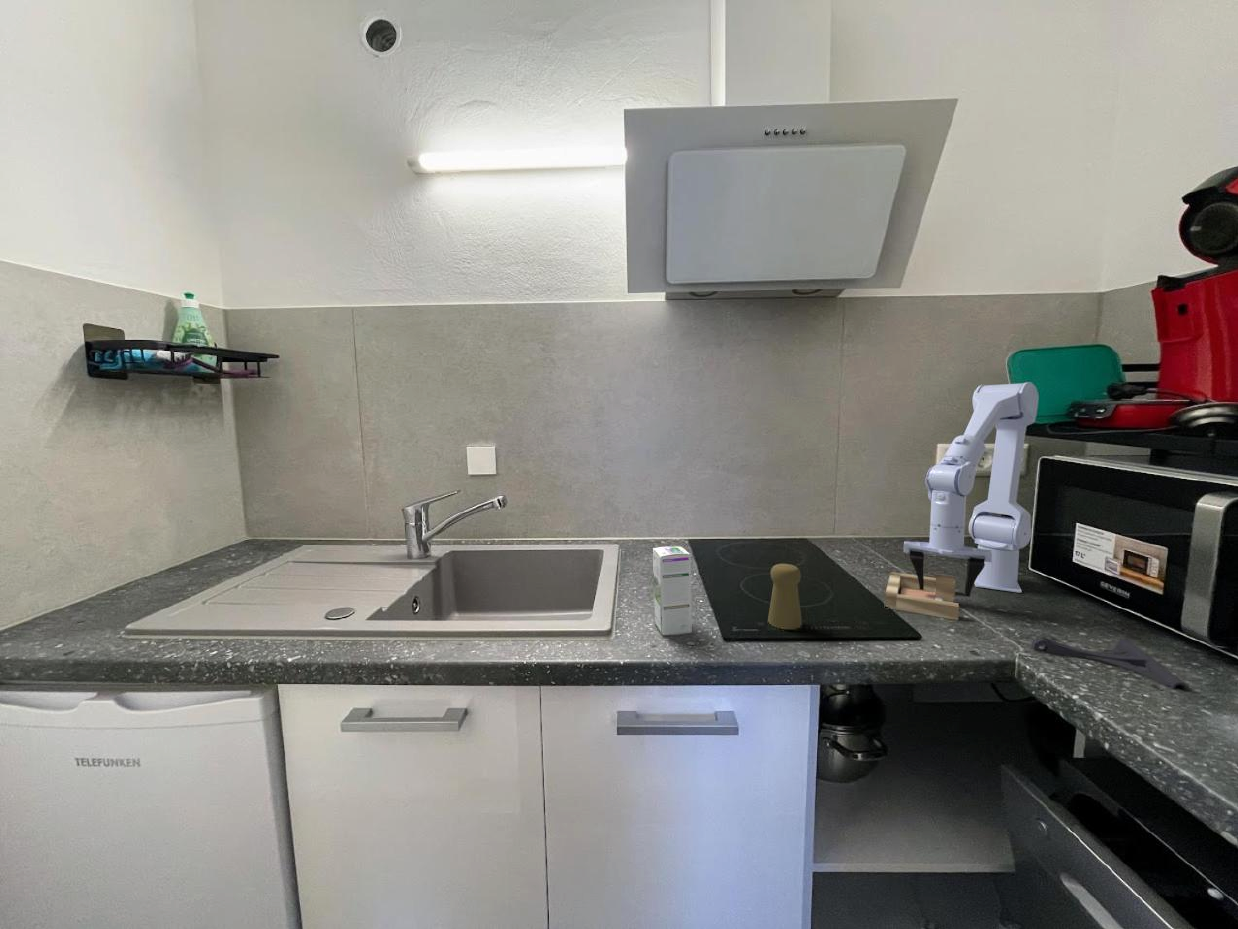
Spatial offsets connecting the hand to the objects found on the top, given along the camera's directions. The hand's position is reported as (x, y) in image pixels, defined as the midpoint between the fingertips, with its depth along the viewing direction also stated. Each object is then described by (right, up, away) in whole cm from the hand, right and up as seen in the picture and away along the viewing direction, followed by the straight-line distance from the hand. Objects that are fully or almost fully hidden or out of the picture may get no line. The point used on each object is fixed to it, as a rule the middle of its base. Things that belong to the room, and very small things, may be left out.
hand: (943, 591), depth 99 cm
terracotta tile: (-4, -3, +3) cm, 5 cm away
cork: (-35, -4, -8) cm, 36 cm away
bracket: (+8, -5, -22) cm, 25 cm away
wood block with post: (-1, -2, +1) cm, 3 cm away
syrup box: (-56, -4, -10) cm, 57 cm away
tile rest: (-4, -2, +3) cm, 5 cm away
